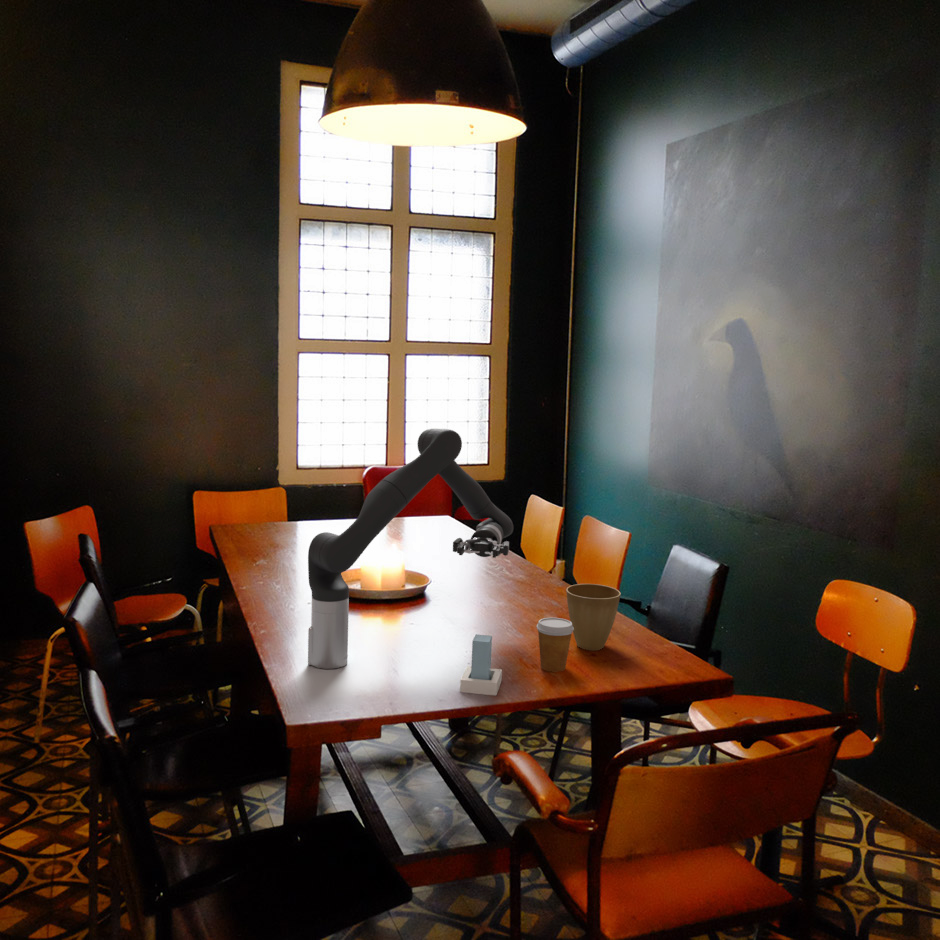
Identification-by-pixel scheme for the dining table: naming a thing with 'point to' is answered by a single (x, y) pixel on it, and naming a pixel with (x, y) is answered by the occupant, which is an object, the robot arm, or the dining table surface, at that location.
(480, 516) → the robot arm
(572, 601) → the plant pot
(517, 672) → the dining table surface
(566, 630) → the disposable coffee cup
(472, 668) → the blue-grey rectangular block
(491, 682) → the end cap
